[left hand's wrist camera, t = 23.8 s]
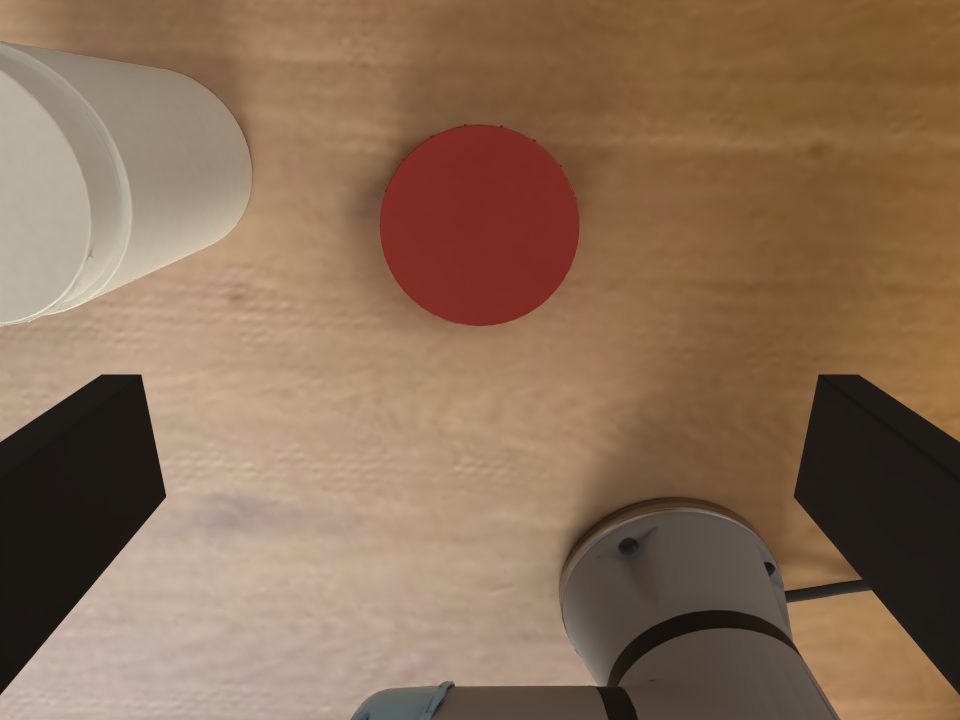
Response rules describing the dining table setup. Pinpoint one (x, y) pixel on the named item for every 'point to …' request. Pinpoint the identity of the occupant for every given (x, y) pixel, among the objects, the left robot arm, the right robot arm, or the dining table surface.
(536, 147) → the lid
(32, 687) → the dining table surface
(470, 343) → the dining table surface
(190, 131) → the jar
